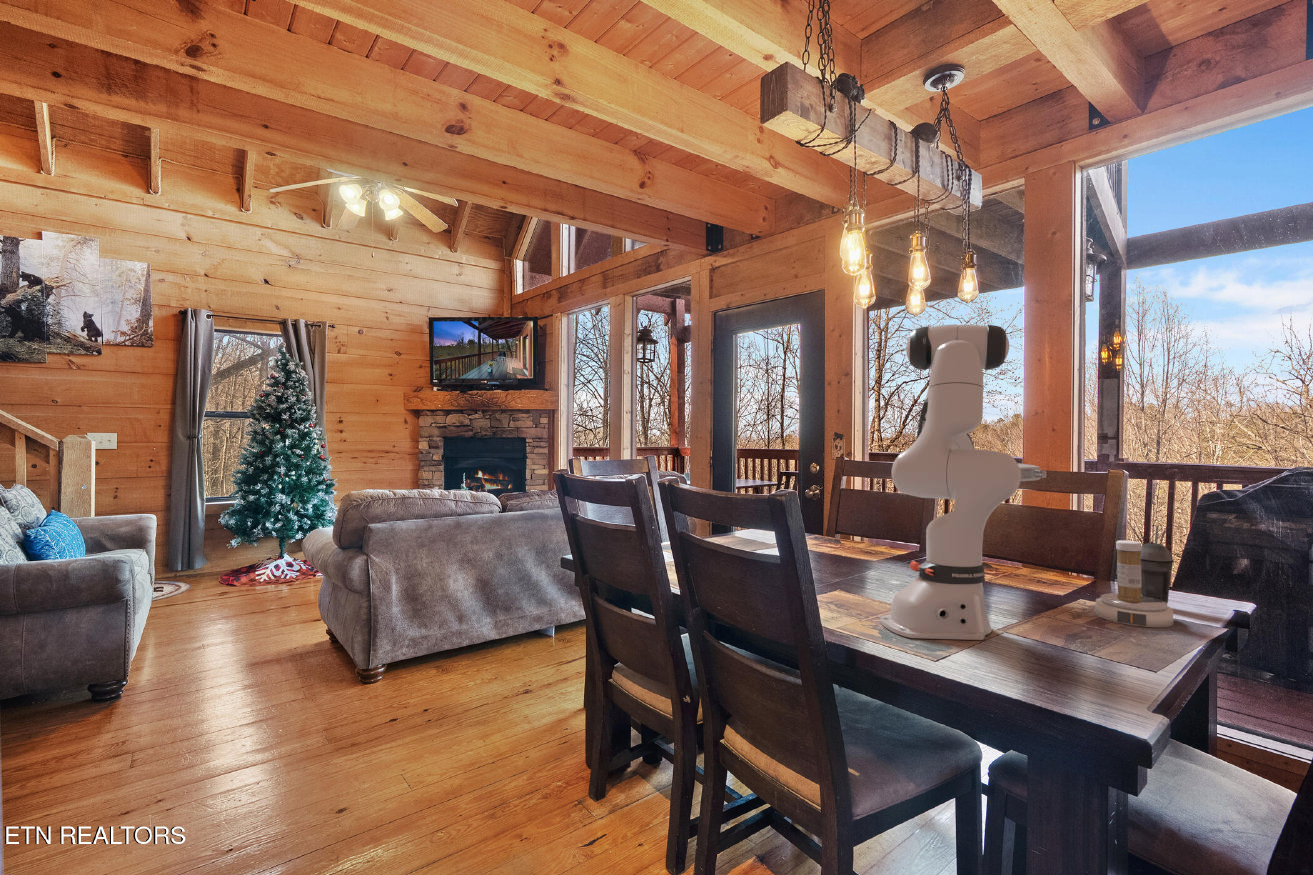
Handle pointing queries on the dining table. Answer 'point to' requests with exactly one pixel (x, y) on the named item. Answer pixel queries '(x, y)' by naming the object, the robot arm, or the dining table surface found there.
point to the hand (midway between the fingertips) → (1031, 475)
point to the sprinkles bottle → (1129, 570)
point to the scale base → (1134, 616)
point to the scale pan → (1135, 603)
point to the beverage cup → (1155, 570)
